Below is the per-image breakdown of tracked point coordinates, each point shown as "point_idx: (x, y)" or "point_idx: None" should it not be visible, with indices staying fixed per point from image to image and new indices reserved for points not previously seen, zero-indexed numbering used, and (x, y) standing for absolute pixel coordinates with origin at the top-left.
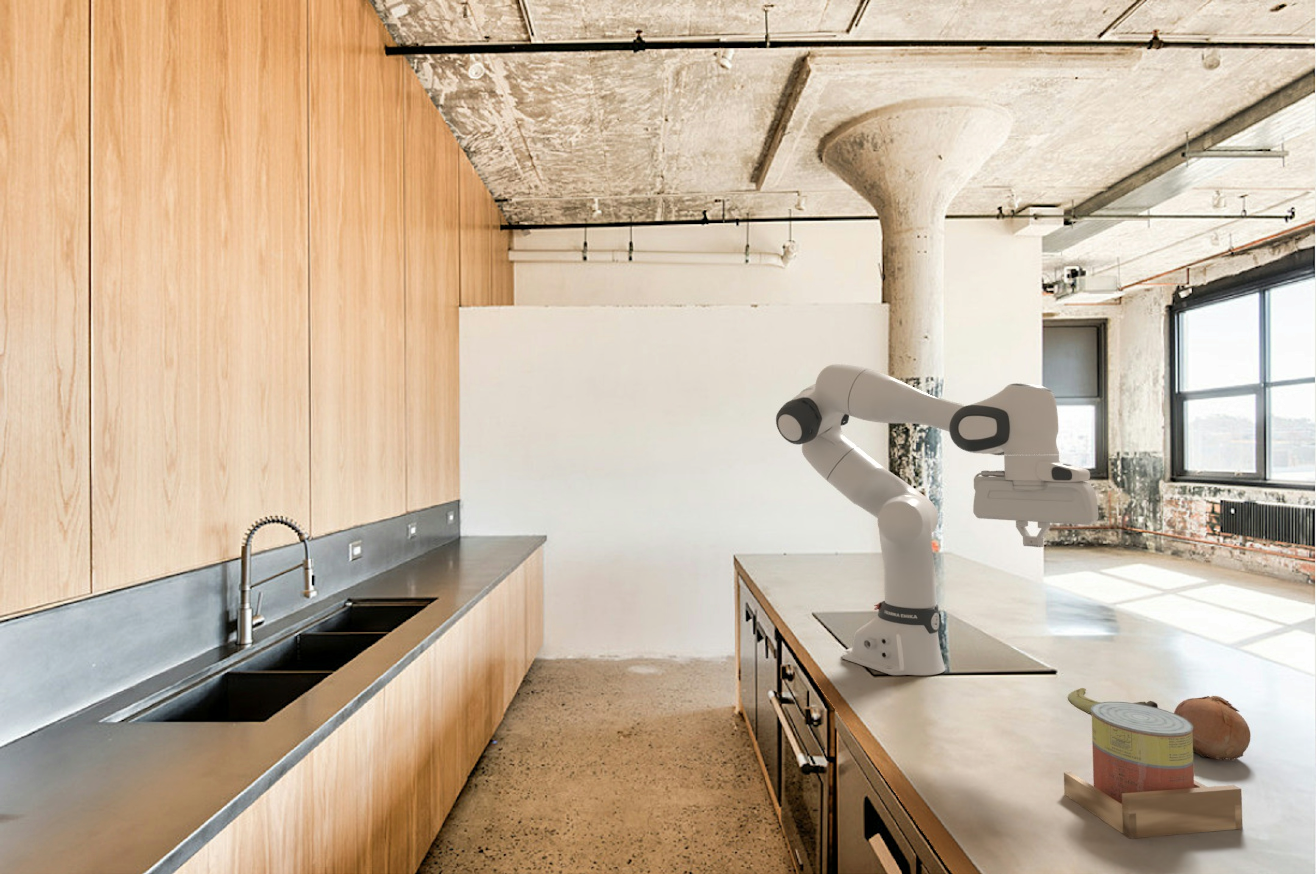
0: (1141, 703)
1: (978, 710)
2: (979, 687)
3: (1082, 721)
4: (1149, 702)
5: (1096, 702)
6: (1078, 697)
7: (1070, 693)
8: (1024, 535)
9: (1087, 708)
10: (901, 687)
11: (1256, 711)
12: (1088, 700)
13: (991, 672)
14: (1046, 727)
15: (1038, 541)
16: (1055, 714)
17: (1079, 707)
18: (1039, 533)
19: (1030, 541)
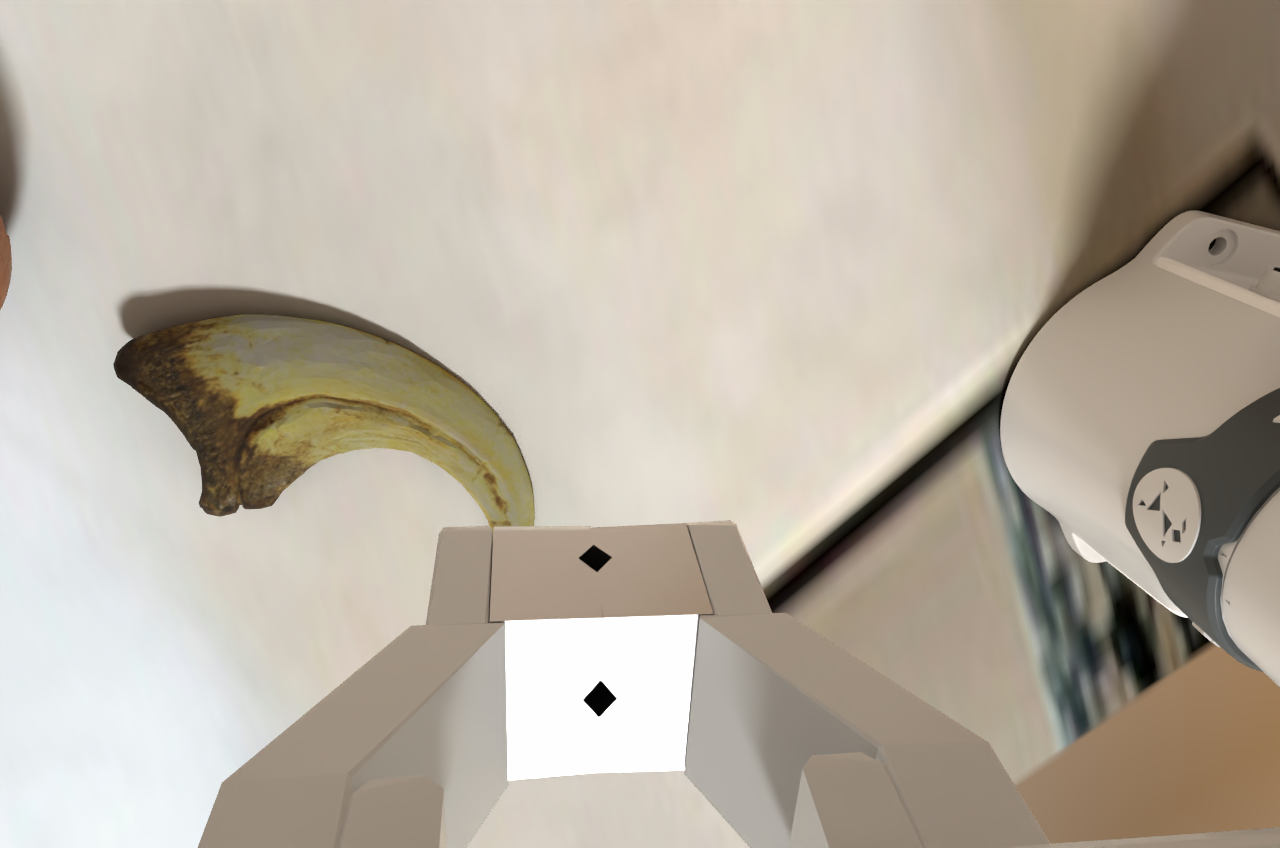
0: (249, 483)
1: (758, 38)
2: (832, 341)
3: (394, 235)
4: (218, 491)
5: (398, 420)
6: (478, 450)
7: (530, 507)
8: (743, 626)
9: (417, 366)
10: (1116, 86)
11: (35, 767)
12: (436, 437)
13: (840, 550)
14: (472, 43)
15: (465, 576)
16: (499, 239)
17: (453, 378)
18: (422, 681)
19: (615, 565)
